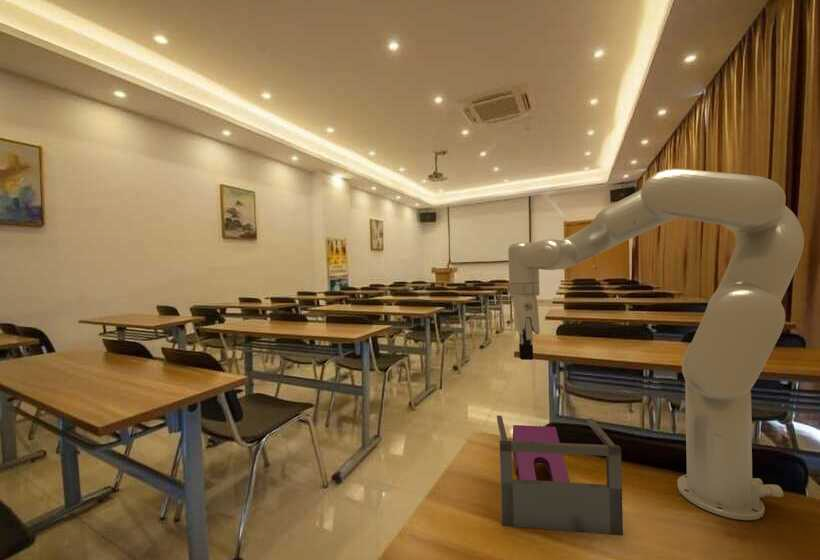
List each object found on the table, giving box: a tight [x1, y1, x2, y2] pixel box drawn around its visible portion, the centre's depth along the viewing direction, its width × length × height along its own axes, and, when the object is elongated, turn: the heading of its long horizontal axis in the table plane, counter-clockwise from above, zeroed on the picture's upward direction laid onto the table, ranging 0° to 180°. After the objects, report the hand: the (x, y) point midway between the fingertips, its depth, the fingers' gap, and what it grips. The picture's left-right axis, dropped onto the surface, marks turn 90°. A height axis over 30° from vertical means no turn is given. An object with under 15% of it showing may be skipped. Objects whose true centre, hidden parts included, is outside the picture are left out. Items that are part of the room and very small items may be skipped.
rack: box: [496, 415, 624, 536], centre depth 66 cm, size 20×12×15 cm, turn 81°
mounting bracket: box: [512, 424, 571, 483], centre depth 75 cm, size 9×8×18 cm
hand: (526, 358), depth 92 cm, fingers closed
